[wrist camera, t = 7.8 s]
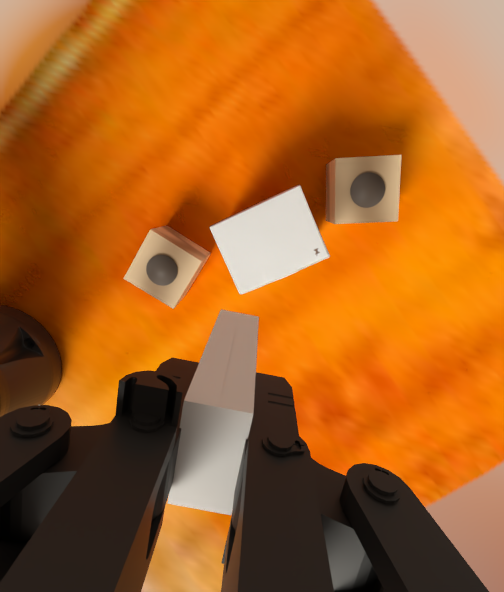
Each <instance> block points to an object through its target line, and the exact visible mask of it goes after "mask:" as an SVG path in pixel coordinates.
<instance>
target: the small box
mask: <svg viewBox="0 0 504 592" xmlns="http://www.w3.org/2000/svg"><path fill="white" fill-rule="evenodd" d="M210 230H211V232H212V234H213V237H214V239H215V241H216V243H217V245H218V248H219V250H220V252H221V254H222V256H223V259H224V261H225V263H226V265H227V267H228V270H229V272H230V274H231V276H232V278H233V281H234V283H235V285H236V287H237V289H238V292H239V294H244V293H247V292H249V291H252V290H254V289H257V288H259V287H262V286H264V285H266V284H269V283H271V282H274V281H276V280H279V279H282V278H284V277H287V276H289V275H291V274H294V273H296V272H298V271H299V270H301V269H304V268H306V267H308V266H310V265H313V264H315V263H317V262H319V261H322V260H324V259H326V258H328V257H330V255H329V253H328V250H327V248H326V246H325V244H324V241H323V239H322V236H321V234H320V232H319V229H318V227H317V225H316V222H315V220H314V218H313V215H312V213H311V210H310V208H309V206H308V203H307V201H306V198H305V196H304V193H303V191H302V188H301V186H300V185H297V186H294V187H292V188H290V189H288V190H285V191H283V192H281V193H279V194H276V195H274V196H272V197H270V198H268V199H266V200H263V201H261V202H259V203H257V204H255V205H253V206H251V207H249V208H247V209H245V210H242V211H240V212H238V213H236V214H234V215H232V216H230V217H228V218H226V219H224V220H222V221H220V222H218V223H216V224H214V225H212V226H210Z"/></svg>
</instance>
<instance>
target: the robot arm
mask: <svg viewBox="0 0 504 592" xmlns="http://www.w3.org/2000/svg"><path fill="white" fill-rule="evenodd" d="M258 322H259V317H257V316H252V315H247V314H242V313H237V312H231V311H226V310H221V311H220V313H219V315H218V318H217V320H216V323H215V325H214V328H213V330H212V333H211V335H210V338H209V340H208V342H207V345H206V347H205V350H204V352H203V355H202V357H201V360H200V362H199V363H197V362H192V361H187V360H182V359H177V358H171V359H169V360H167V361H165V362H163V363H161V364H160V366H159V367H158V369H157V371H140V372H135V373H132V374H129V375H126V376H125V377H123V378H122V379H121V380H119V388H118V397H117V407H116V416H115V417H114V418H113V420H112V421H111V423H108V424H104V425H96V426H73V427H71V418H70V416H69V414H68V413H67V412H66V411H64V410H62V409H61V408H58V407H54V406H49V405H43V404H44V403H45V402H46V401H48V400H49V399H50V398H51V397H52V395H53V394H54V393H55V391H56V390H57V388H58V385H59V383H60V379H61V372H62V366H61V359H60V355H59V351H58V349H57V346H56V344H55V342H54V341H53V339H52V337H51V336H50V334H49V333H48V332H47V331H46V330H45V328H44V327H43V326H42V325H41V324H40V323H38V322H37V321H36V320H35V319H33V318H32V317H30V316H29V315H27V314H25V313H24V312H22V311H19V310H17V309H14V308H11V307H7V306H2V305H0V592H141V589H142V586H143V583H144V580H145V577H146V574H147V570H148V567H149V564H150V561H151V558H152V555H153V551H154V548H155V545H156V542H157V539H158V536H159V532H160V529H161V526H162V521H163V515H164V508H165V504H166V501H167V498H168V504H173V505H178V506H184V507H189V508H195V509H200V510H205V511H211V512H216V513H222V514H227V515H231V514H232V518H231V523H230V527H229V532H228V536H227V541H226V545H225V550H224V554H223V559H222V563H223V564H224V571H223V580H222V588H221V592H489V591H488V590H487V588H486V587H485V586H484V585H483V583H482V582H481V581H480V579H479V578H478V577H477V575H476V574H475V573H474V571H473V570H472V569H471V568H470V566H469V565H468V564H467V562H466V561H465V560H464V558H463V557H462V556H461V555H460V553H459V552H458V551H457V549H456V548H455V547H454V545H453V544H452V543H451V541H450V540H449V539H448V538H447V536H446V535H445V534H444V532H443V531H442V530H441V528H440V527H439V526H438V524H437V523H436V522H435V520H434V519H433V518H432V516H431V515H430V514H429V513H428V511H427V510H426V509H425V507H424V506H423V505H422V503H421V502H420V501H419V499H418V498H417V497H416V496H415V494H414V493H413V492H412V490H411V489H410V488H409V487H408V486H407V485H406V484H405V483H404V482H403V481H402V480H401V479H400V478H399V477H398V476H396V475H395V474H393V473H392V472H390V471H389V470H386V469H384V468H382V467H379V466H377V465H372V464H366V463H362V464H356V465H353V466H352V467H351V468H350V469H349V470H348V472H347V475H346V476H345V475H342V474H340V473H338V472H335V471H333V470H331V469H328V468H326V467H324V466H322V465H321V464H319V463H317V462H316V461H315V460H313V459H312V458H311V456H310V451H309V449H308V446H307V444H306V443H305V442H304V441H303V440H302V439H301V437H300V436H299V433H298V426H297V419H296V412H295V408H294V406H295V405H294V399H293V392H292V387H291V386H290V384H289V383H288V382H287V381H286V379H285V378H282V377H277V376H272V375H267V374H262V373H256V358H257V340H258ZM168 495H169V497H168ZM232 509H233V510H232Z"/></svg>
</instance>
